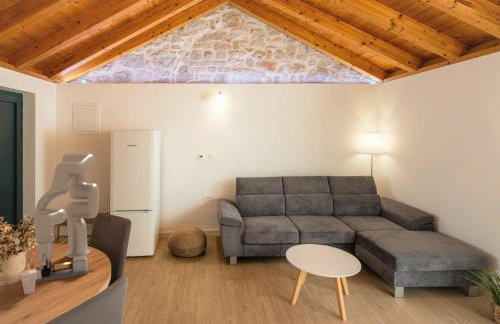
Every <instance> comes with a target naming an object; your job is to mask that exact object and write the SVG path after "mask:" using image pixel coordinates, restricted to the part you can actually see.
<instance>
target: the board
mask: <svg viewBox="0 0 500 324" xmlns="http://www.w3.org/2000/svg"><path fill="white" fill-rule="evenodd" d="M88 269H89V265H87V271H83V272H77V273H73V269H69V270H63V271H57V272H51V273H50V275H49V276H42V278H41V279H37V280H35V284H36V283H41V282H48V281H54V280H58V279H64V278H71V277H76V276H77V277H78V276H82V275H88Z"/></svg>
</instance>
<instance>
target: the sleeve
mask: <svg viewBox="0 0 500 324" xmlns="http://www.w3.org/2000/svg"><path fill="white" fill-rule="evenodd" d="M72 262H73V273H77V272H83V271H87V266H88V255H86V256H79V257H74V258H72Z"/></svg>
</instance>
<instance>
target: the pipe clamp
mask: <svg viewBox="0 0 500 324" xmlns="http://www.w3.org/2000/svg"><path fill="white" fill-rule="evenodd" d="M51 265H53V264H52V263H51ZM38 266H42V263H40V264H38ZM34 267H35V264H30V263H29V269H33V268H34ZM25 270H28V264H26V265H25Z"/></svg>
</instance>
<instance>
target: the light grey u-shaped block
mask: <svg viewBox="0 0 500 324" xmlns="http://www.w3.org/2000/svg"><path fill="white" fill-rule="evenodd" d="M37 267H41V266H39V265H38V264H34V268H33V269H36V270H37ZM41 278H42V274H41V270H37V273H36V280H37V279H41Z"/></svg>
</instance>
